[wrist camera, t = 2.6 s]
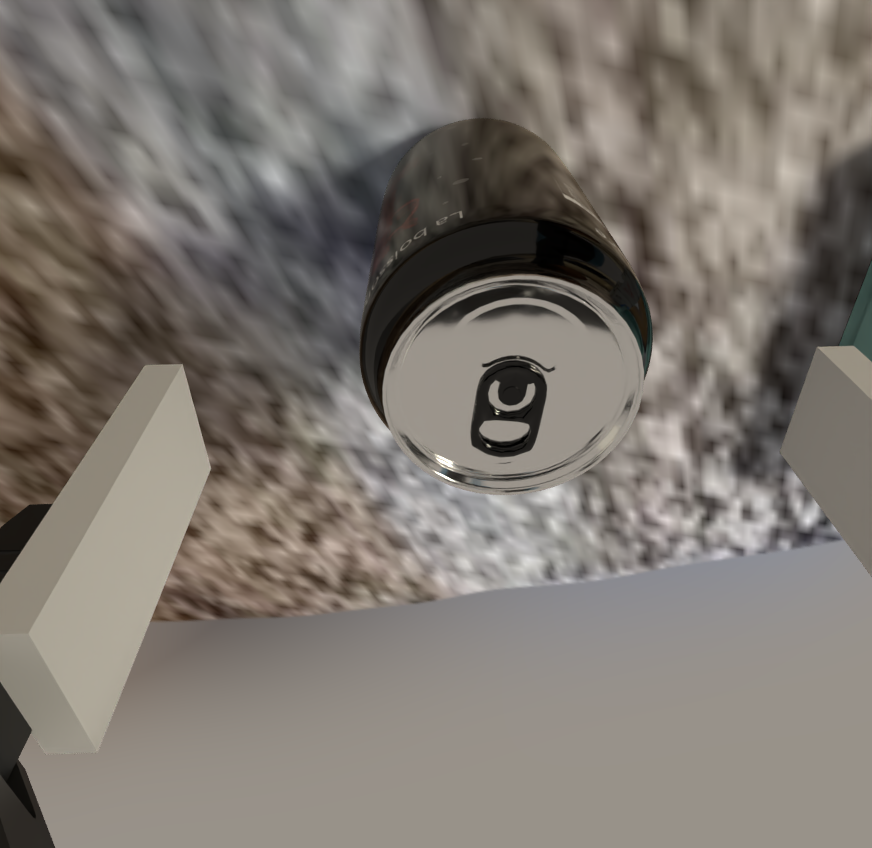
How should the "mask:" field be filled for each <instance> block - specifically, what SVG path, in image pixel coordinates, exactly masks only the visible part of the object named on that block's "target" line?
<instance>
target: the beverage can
mask: <svg viewBox="0 0 872 848" xmlns="http://www.w3.org/2000/svg"><path fill="white" fill-rule="evenodd" d="M652 343H653V330H652V320H651V315H650V310H649V306H648V303H647V300H646V297H645V294H644V292H643V289H642V287H641V285H640V283H639V281H638V279H637V277H636V275H635V272H634V270H633V269H632V267H631V265H630V263H629V262H628V260H627V259H626V257H625V256H624V254H623V253H622V251H621V250H620V248H619V246H618V245H617V243H616V242H615V240H614V239H613V237H612V236H611V234H610V233H609V231H608V230H607V228H606V226H605V225H604V223H603V222H602V220H601V219H600V217H599V216H598V214H597V213H596V211H595V210H594V208H593V206H592V205H591V203H590V202H589V200H588V199H587V197H586V196H585V194H584V193H583V191H582V190H581V188H580V186H579V185H578V183H577V182H576V180H575V179H574V177H573V176H572V174H571V173H570V171H569V170H568V169H567V167H566V166H565V164H564V163H563V162H562V160H561V159H560V158H559V156H558V155H557V154H556V153H555V152H554V150H553V149H552V148H551V147H550V146H549V145H548V144H547V143H546V142H545V141H544V140H542V139H541V138H540V137H538V136H537V135H536V134H534V133H533V132H531V131H529V130H527V129H525V128H523V127H521V126H519V125H516V124H514V123H510V122H507V121H503V120H497V119H488V118H477V119H468V120H462V121H458V122H454V123H451V124H448V125H446V126H443V127H441V128H439V129H437V130H435V131H433V132H431V133H430V134H428V135H427V136H425V137H424V138H422V139H421V140H420V141H418V142H417V143H416V144H415V145H414V146H413V147H412V148H411V149H410V150H409V151H408V152H407V153H406V154H405V155H404V157H403V158H402V159H401V161H400V162H399V163H398V165H397V166H396V168H395V170H394V172H393V173H392V175H391V177H390V180H389V182H388V185H387V187H386V191H385V194H384V197H383V201H382V206H381V210H380V215H379V220H378V226H377V232H376V237H375V243H374V249H373V255H372V261H371V267H370V273H369V279H368V285H367V291H366V297H365V302H364V308H363V314H362V320H361V328H360V350H359V356H360V368H361V373H362V378H363V383H364V386H365V389H366V392H367V395H368V397H369V399H370V402H371V404H372V406H373V407H374V409H375V411H376V413H377V414H378V416H379V417H380V419H381V420H382V421H383V423H384V424H385V425H386V426H387V428H388V429H389V430H390V431H391V433H392V435H393V437H394V439H395V441H396V442H397V444H398V445H399V446H400V448H401V449H402V451H403V452H404V453H405V454H406V455H407V456H408V457H409V458H410V459H411V461H412V462H413V463H415V464H416V465H417V466H418V467H420V468H421V469H422V470H423V471H425V472H426V473H428V474H429V475H431V476H433V477H434V478H436V479H438V480H440V481H442V482H444V483H446V484H448V485H451V486H454V487H457V488H460V489H463V490H467V491H471V492H476V493H482V494H491V495H514V494H525V493H531V492H536V491H541V490H544V489H548V488H551V487H554V486H557V485H560V484H562V483H565V482H567V481H569V480H571V479H573V478H575V477H577V476H579V475H581V474H583V473H584V472H586V471H587V470H589V469H590V468H592V467H594V466H595V465H596V464H597V463H599V462H600V461H601V460H602V459H604V458H605V457H606V456H607V455H608V454H609V453H610V452H611V451H612V450H613V449H614V448H615V447H616V446H617V445H618V443H619V442H620V441H621V439H622V438H623V437H624V436H625V434H626V433H627V431H628V429H629V428H630V426H631V424H632V423H633V421H634V418H635V416H636V414H637V411H638V409H639V406H640V402H641V397H642V393H643V385H644V380H645V377H646V374H647V371H648V367H649V363H650V359H651V353H652Z"/></svg>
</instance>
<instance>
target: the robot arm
mask: <svg viewBox="0 0 872 848" xmlns="http://www.w3.org/2000/svg"><path fill="white" fill-rule="evenodd" d="M780 453H781V455H782V456H783V457H784V459H785V460H786V461H787V463H788V464H789V466H790V467H791V468H792V470H793V471H794V472H795V474H796V475H797V476H798V478H799V479H800V480H801V482H802V483H803V484H804V486H805V487H806V489H807V490H808V491H809V493H810V494H811V495H812V497H813V498H814V499H815V501H816V502H817V503H818V505H819V506H820V508H821V509H822V510H823V512H824V513H825V514H826V516H827V517H828V518H829V520H830V521H831V522H832V524H833V525H834V527H835V528H836V529H837V531H838V532H839V533H840V535H841V536H842V537H843V539H844V540H845V541H846V543H847V544H848V545H849V547H850V548H851V550H852V551H853V552H854V554H855V555H856V556H857V558H858V559H859V560H860V562H861V563H862V564H863V566H864V567H865V569H866V570H867V571H868V573H869V574H870V575H871V577H872V362H871V361H870V360H869V359H868V358H867V357H866V356H865V355H863V354H862V353H861V352H860V351H859V350H858V349H857V348H856V347H854V346H828V347H817V348H816V351H815V354H814V357H813V360H812V362H811V365H810V368H809V371H808V374H807V376H806V379H805V382H804V385H803V388H802V391H801V393H800V396H799V399H798V402H797V405H796V407H795V410H794V413H793V416H792V419H791V421H790V424H789V427H788V430H787V433H786V436H785V438H784V441H783V444H782V447H781V450H780ZM210 470H211V467H210V463H209V459H208V456H207V452H206V448H205V445H204V441H203V437H202V434H201V430H200V426H199V423H198V419H197V415H196V412H195V408H194V404H193V401H192V397H191V393H190V390H189V386H188V382H187V379H186V375H185V371H184V368H183V364H168V365H145V366H144V367H143V369H142V371H141V372H140V374H139V375H138V377H137V378H136V380H135V381H134V383H133V384H132V386H131V387H130V389H129V390H128V392H127V393H126V395H125V396H124V398H123V399H122V401H121V402H120V404H119V405H118V407H117V408H116V410H115V411H114V413H113V414H112V416H111V417H110V419H109V420H108V422H107V423H106V425H105V426H104V428H103V429H102V431H101V432H100V434H99V435H98V437H97V438H96V440H95V441H94V443H93V444H92V446H91V447H90V449H89V450H88V452H87V453H86V455H85V456H84V458H83V459H82V461H81V462H80V464H79V466H78V467H77V469H76V470H75V472H74V473H73V475H72V476H71V478H70V479H69V481H68V482H67V484H66V485H65V487H64V488H63V490H62V491H61V493H60V494H59V496H58V497H57V499H56V500H55V502H54V503H53V504H37V505H29V506H27V507H26V508H25V509H24V510H22V511H21V512H20V513H18V514H17V515H16V516H15V517H13V518H12V519H11V520H9V521H8V522H7V523H6V524H4V525H3V526H2V527H1V528H0V848H55V846H54V844H53V841H52V838H51V836H50V833H49V831H48V828H47V825H46V823H45V820H44V817H43V815H42V812H41V809H40V807H39V804H38V802H37V799H36V796H35V794H34V791H33V789H32V786H31V784H30V781H29V778H28V775H27V773H26V771H25V768H24V767H23V766H22V764H21V763H20V762H19V760H18V758H19V756H20V754H21V752H22V750H23V748H24V746H25V744H26V741H27V740H28V738H29V735H30V734H32V735H33V737H34V738H35V739H36V741H37V742H38V744H39V746H40V747H41V748H42V750H43V751H44V753H45V754H65V753H96V752H98V750H99V748H100V745H101V743H102V740H103V738H104V735H105V733H106V730H107V727H108V725H109V723H110V720H111V718H112V715H113V713H114V710H115V708H116V705H117V703H118V700H119V698H120V695H121V692H122V690H123V687H124V685H125V683H126V680H127V677H128V675H129V672H130V670H131V668H132V665H133V663H134V660H135V657H136V655H137V652H138V650H139V648H140V645H141V643H142V640H143V637H144V635H145V632H146V630H147V628H148V625H149V623H150V620H151V618H152V615H153V613H154V610H155V608H156V605H157V603H158V600H159V598H160V595H161V593H162V590H163V588H164V585H165V583H166V580H167V578H168V575H169V573H170V570H171V568H172V565H173V563H174V560H175V557H176V555H177V552H178V550H179V547H180V545H181V542H182V540H183V537H184V535H185V532H186V530H187V527H188V525H189V522H190V520H191V517H192V515H193V512H194V510H195V507H196V505H197V502H198V500H199V497H200V495H201V492H202V490H203V487H204V485H205V482H206V480H207V477H208V475H209V472H210Z"/></svg>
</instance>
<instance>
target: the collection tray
mask: <svg viewBox="0 0 872 848" xmlns="http://www.w3.org/2000/svg"><path fill="white" fill-rule="evenodd" d="M839 346H854V347H856V348H857V349H858V350H859V351H860V352H861V353H862V354H863V355H865V356H866V357H867V358H868V359H869V360H870V361H871V362H872V261H871V264H870V266H869V269H868V271H867V274H866V277H865V279H864V282H863V284H862V287H861V290H860V292H859V295H858V297H857V300H856V303H855V305H854V308H853V310H852V313H851V316H850V318H849V321H848V323H847V326H846V329H845V331H844V334H843V336H842V339H841V341H840V344H839Z"/></svg>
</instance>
